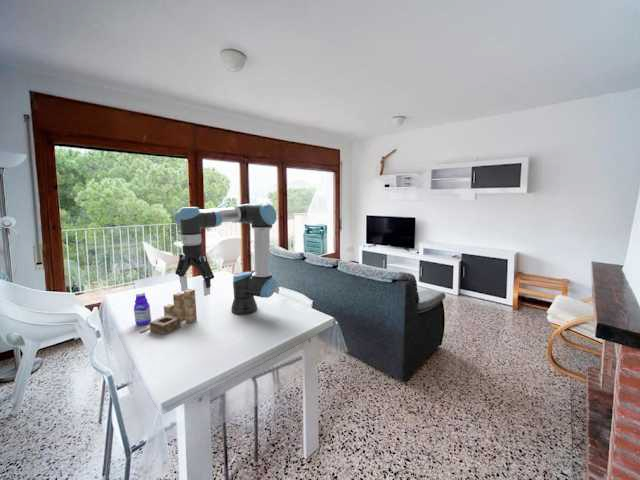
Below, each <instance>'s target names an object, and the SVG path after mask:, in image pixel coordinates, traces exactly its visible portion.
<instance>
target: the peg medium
mask: <svg viewBox="0 0 640 480" xmlns="http://www.w3.org/2000/svg"><path fill="white" fill-rule="evenodd" d="M172 297H173V298H172V299H173V300H172V301H173V305H174V313H175V317H178V318H180V320H181V322H182V321H185V320H186V319H185V305H184V292H179V291H178V292H176V293H173V294H172Z"/></svg>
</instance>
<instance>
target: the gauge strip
mask: <svg viewBox="0 0 640 480" xmlns="http://www.w3.org/2000/svg"><path fill="white" fill-rule="evenodd" d="M149 330H150V326H149V327H148V328H147V327H146V328H144V329H143V330H141V331H139V333H141V334H143V333H145V332H147V331H149Z"/></svg>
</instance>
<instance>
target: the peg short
mask: <svg viewBox="0 0 640 480" xmlns="http://www.w3.org/2000/svg"><path fill="white" fill-rule="evenodd" d="M163 313H164V315H163V316H166V315H169V316H173V317H175V313H174V303H173V304H171V303H168V304H166V305H164V306H163Z"/></svg>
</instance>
